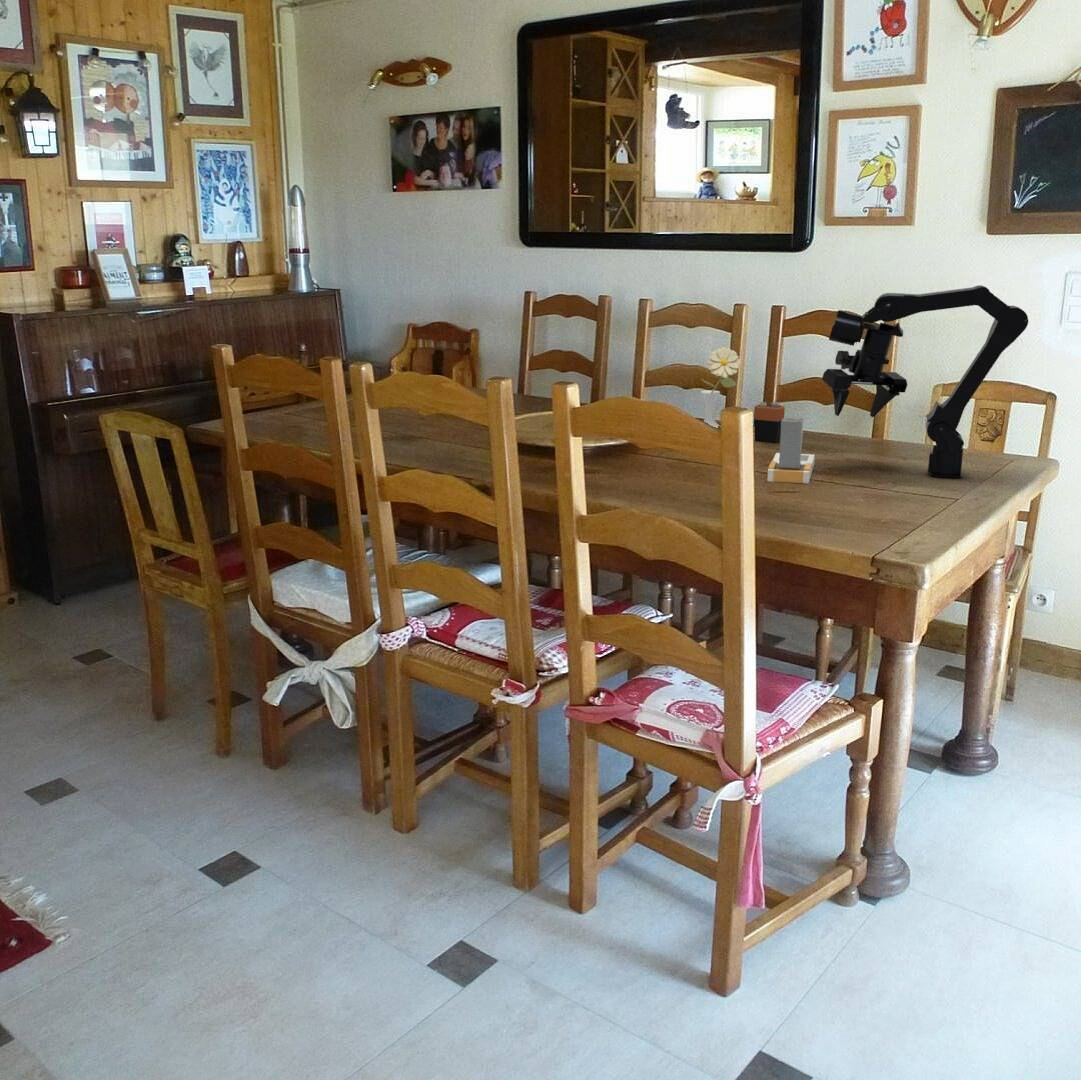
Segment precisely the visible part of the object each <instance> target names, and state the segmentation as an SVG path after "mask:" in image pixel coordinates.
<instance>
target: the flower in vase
mask: <svg viewBox="0 0 1081 1080" xmlns="http://www.w3.org/2000/svg"><path fill="white" fill-rule="evenodd" d="M739 358H740V357H739V355H738V354H737V352H736V351H735V350H733V349H731V348H729V347H724V346H722V347H721V348H717V349H716V350H714V351H711V353H710V355H709V358H708V359H707V364H706V365H707V366H708V369H709V371H711V372H710V373H711V374H712V375H715V376H716V377H719V380H718V381H717V383H716V385H714V384H713V383H712V382H709V381H707V380H705V379H703V378H702V377H700V380H701V381H702V382H703V383H704V384H706V385H709V386H711V387H713V388H712V390H708V389H707V390H701V391H700V394H701V396H702V397H703V401H704V406H705V407H704V408H705V409H704V410H705V413H704V414H705V415H704V420H703V421H704V422H706V423H708V424H709V425H711V426H713V427H716V428H718V426H720V424H718V423H717V421H716V419H715V407H716V403H717V398H718V397H719V396H720V394H721V391H719V390H716V388H717V387H718V386H719V384H721V385H722V387H724V388H727V389H728V388H732V387H735V386H738V384H737V382H736V381H734V380H733V379H732V378H730V376H734V375H735V374H737V373H738V371H739V370H738V369H739V368H740V365H741V359H739Z"/></svg>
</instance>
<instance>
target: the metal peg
mask: <svg viewBox="0 0 1081 1080" xmlns="http://www.w3.org/2000/svg"><path fill="white" fill-rule="evenodd" d="M803 428H804V418H798V417H797V418H796V417H795V418H794V417H793V418H791V417H790V418H789V417H784V418H783V419H782V421H781V437H780V442H779V453H780V458H779V470H798V471H800V470H801V454H802V451H803V450H802V448H803V430H804V429H803Z"/></svg>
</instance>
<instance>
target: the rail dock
mask: <svg viewBox="0 0 1081 1080" xmlns="http://www.w3.org/2000/svg"><path fill="white" fill-rule="evenodd" d="M779 458H780V452H776V453H775V455H774V456H773V459H772V461H771V462H770V464H769V466H768V468H767V480H766V481H767V482H770V483H771V482H772V483H795V484H809V483H810V481H811V477H812V474H813V472H814V471H813V470H814V467H815V459H816V454H810V453H801V470H800V471H798V470H779Z"/></svg>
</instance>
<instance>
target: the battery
mask: <svg viewBox="0 0 1081 1080" xmlns="http://www.w3.org/2000/svg"><path fill="white" fill-rule="evenodd" d="M785 409H786V407H785V406H784V405H781V404H780V402H775V401H773V402H770V404H767V402H766V401H761V402H760V404H757V405H755V406H754V408H753V427H754V426H755V442H763V443H771V444H772V443H773V444H776V443H777V444H778V443H780V437H781V421H782V419H783V418H785Z"/></svg>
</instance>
